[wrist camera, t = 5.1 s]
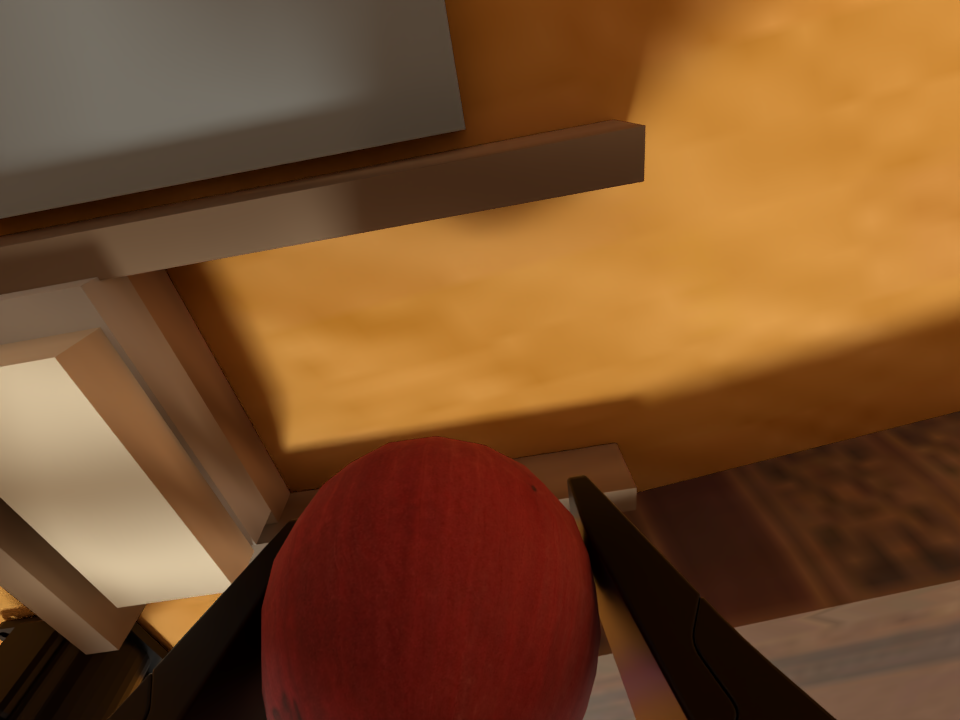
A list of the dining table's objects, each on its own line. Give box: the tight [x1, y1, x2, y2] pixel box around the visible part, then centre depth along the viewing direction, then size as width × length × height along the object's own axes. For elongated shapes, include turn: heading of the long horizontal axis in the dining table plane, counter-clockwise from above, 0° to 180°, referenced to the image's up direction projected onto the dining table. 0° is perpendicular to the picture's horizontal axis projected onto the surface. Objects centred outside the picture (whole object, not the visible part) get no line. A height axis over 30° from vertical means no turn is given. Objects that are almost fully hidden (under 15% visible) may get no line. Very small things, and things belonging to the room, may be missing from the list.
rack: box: [0, 120, 645, 655], centre depth 14 cm, size 13×20×5 cm, turn 100°
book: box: [583, 411, 960, 720], centre depth 22 cm, size 24×28×7 cm
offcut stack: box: [0, 269, 290, 608], centre depth 14 cm, size 11×4×4 cm, turn 10°
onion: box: [261, 436, 601, 720], centre depth 8 cm, size 6×6×8 cm
